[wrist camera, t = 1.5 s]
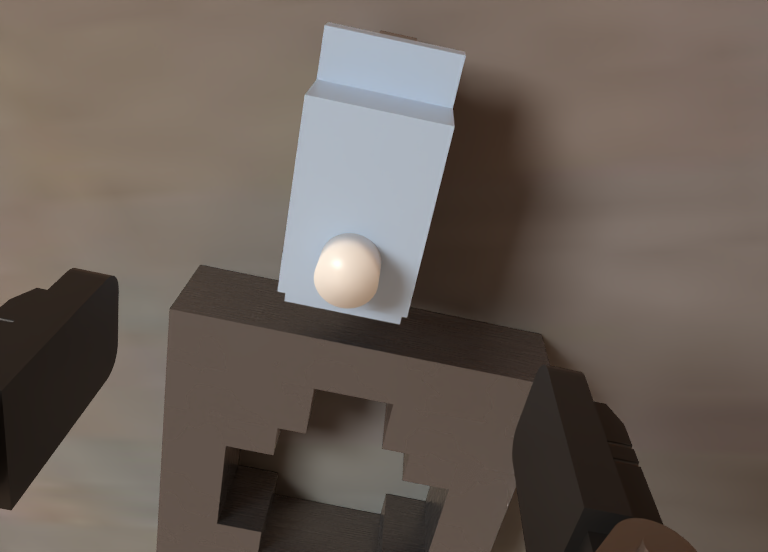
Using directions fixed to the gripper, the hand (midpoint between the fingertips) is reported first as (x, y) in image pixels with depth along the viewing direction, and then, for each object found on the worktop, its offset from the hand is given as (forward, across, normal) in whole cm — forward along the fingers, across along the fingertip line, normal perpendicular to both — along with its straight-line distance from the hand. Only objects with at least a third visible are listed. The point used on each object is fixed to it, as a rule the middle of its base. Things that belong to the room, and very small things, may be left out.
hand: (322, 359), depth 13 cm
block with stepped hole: (+13, -1, +14) cm, 19 cm away
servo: (+13, 0, 0) cm, 13 cm away
